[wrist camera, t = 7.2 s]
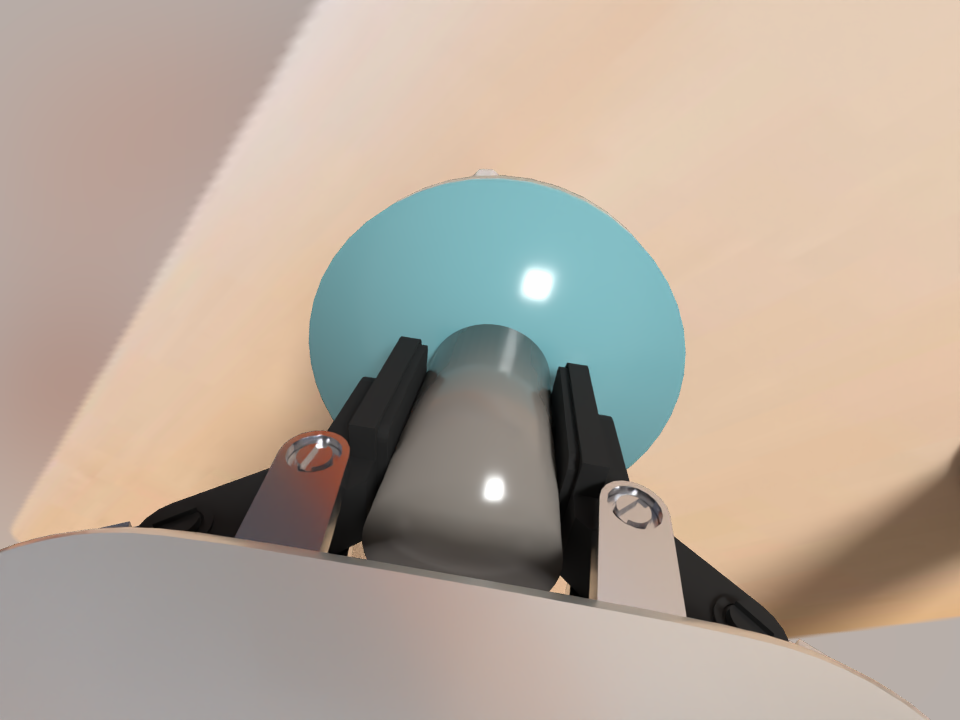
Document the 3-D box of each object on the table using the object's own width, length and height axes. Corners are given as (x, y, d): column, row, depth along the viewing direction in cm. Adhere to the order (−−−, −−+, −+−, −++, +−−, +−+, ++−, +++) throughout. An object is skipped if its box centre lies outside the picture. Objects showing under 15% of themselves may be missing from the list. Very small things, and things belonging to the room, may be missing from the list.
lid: (730, 407, 14) (889, 644, 8) (457, 520, 18) (417, 737, 12) (553, 75, 10) (588, 11, 4) (256, 311, 14) (35, 468, 8)
